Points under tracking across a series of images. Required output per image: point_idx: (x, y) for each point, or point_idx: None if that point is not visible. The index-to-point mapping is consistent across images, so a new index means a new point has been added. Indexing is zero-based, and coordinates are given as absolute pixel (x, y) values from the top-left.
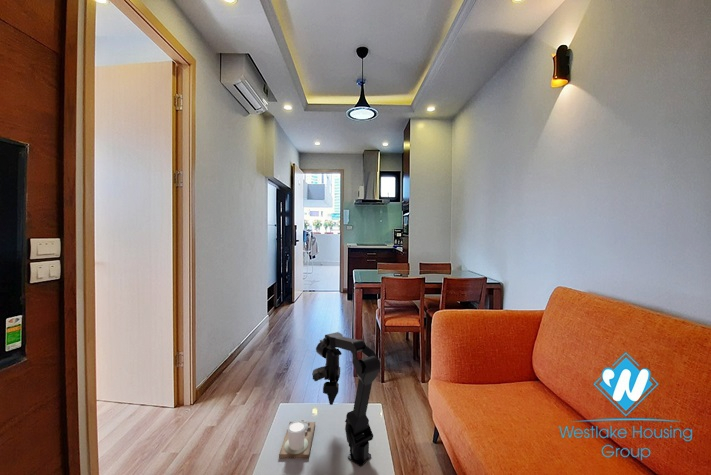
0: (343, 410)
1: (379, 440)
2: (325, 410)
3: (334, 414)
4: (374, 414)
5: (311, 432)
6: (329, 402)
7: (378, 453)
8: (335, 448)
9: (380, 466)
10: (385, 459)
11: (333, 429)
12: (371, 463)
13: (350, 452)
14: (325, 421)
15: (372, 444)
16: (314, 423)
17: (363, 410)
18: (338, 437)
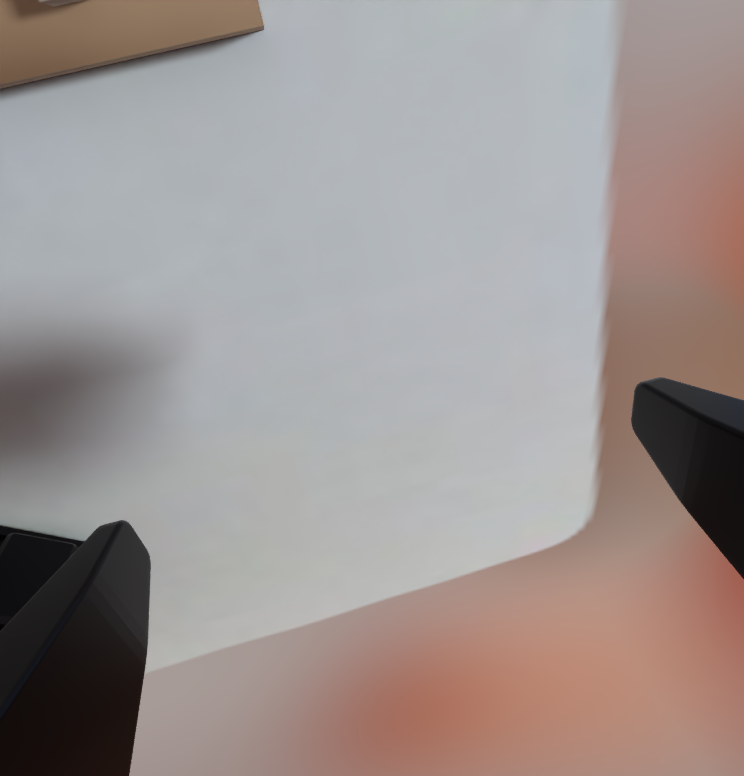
0: (588, 306)
1: (263, 625)
2: (595, 82)
3: (519, 230)
4: (534, 541)
5: (10, 48)
6: (54, 580)
7: None
8: (12, 400)
9: None
10: None
11: (269, 298)
12: None
13: (2, 544)
14: (379, 158)
15: (207, 605)
16: (226, 24)
17: None
18: (172, 380)
